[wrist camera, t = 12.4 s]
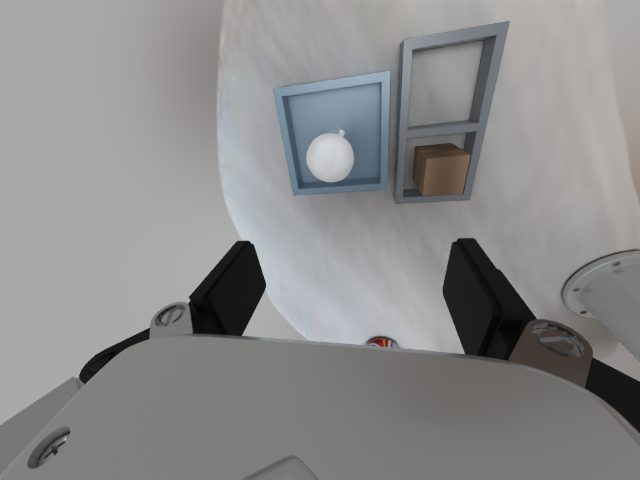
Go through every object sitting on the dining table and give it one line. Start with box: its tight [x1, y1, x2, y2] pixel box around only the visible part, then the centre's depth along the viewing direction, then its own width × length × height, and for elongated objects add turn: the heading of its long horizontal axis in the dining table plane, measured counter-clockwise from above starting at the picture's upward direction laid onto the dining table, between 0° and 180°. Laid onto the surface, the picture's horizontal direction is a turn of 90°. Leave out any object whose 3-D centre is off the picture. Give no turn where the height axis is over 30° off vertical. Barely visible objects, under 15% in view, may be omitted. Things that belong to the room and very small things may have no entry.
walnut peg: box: [413, 143, 470, 196], centre depth 27 cm, size 4×4×6 cm
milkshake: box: [306, 129, 354, 182], centre depth 25 cm, size 4×5×10 cm
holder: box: [394, 21, 510, 204], centre depth 26 cm, size 9×16×2 cm, turn 7°
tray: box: [273, 71, 390, 195], centre depth 28 cm, size 12×12×3 cm
